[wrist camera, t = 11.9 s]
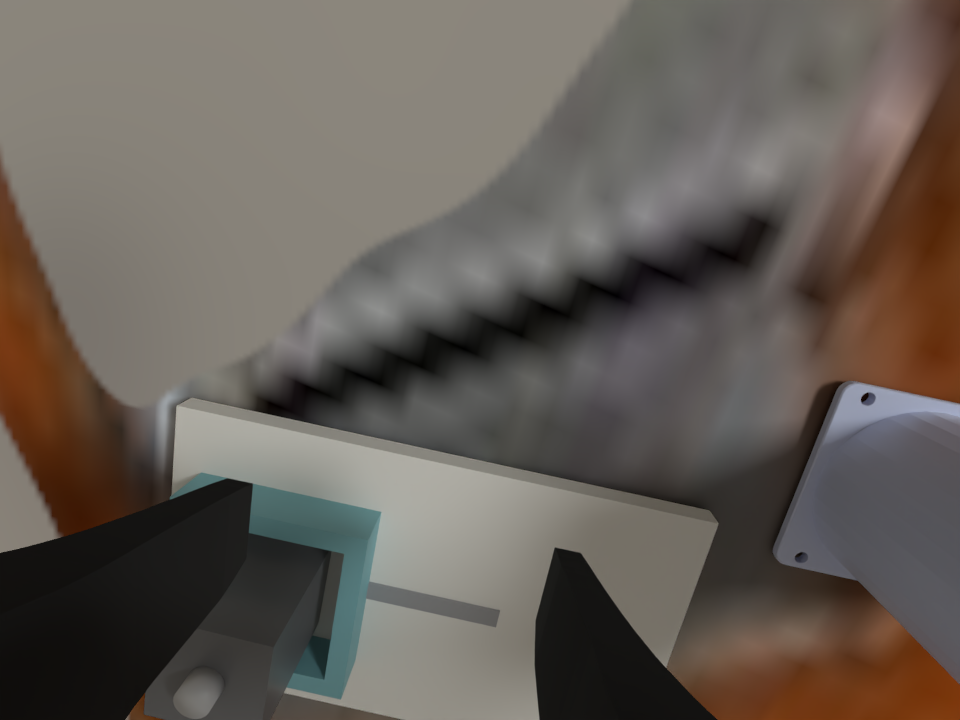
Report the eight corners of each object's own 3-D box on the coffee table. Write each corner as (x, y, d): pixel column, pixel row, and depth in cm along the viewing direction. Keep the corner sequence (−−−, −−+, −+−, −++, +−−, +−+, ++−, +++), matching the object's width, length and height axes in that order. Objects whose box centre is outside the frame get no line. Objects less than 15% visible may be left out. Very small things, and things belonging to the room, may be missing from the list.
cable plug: (332, 544, 22) (261, 667, 16) (319, 622, 23) (246, 766, 17) (240, 522, 22) (133, 636, 16) (230, 600, 23) (126, 736, 17)
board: (709, 510, 21) (740, 554, 18) (624, 749, 24) (638, 818, 22) (191, 397, 21) (141, 423, 19) (175, 648, 25) (130, 704, 22)
